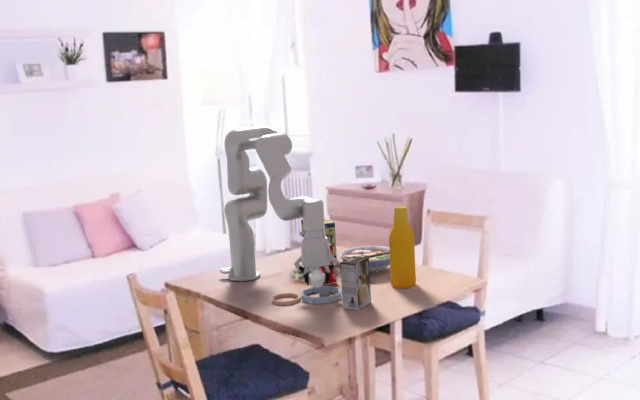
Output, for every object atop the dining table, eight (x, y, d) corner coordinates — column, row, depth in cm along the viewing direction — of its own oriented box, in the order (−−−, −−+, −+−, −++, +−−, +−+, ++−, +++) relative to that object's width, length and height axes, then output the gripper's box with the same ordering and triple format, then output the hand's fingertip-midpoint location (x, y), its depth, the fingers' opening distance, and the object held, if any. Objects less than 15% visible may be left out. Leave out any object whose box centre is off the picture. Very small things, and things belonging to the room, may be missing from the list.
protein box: (313, 262, 324) (311, 225, 321) (302, 254, 338) (300, 219, 335) (337, 259, 327) (335, 222, 324) (325, 251, 341) (323, 216, 339)
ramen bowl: (378, 259, 322) (377, 240, 320) (412, 271, 302) (412, 250, 301) (327, 270, 309) (326, 250, 308) (359, 283, 290) (358, 261, 288)
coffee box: (355, 300, 270) (353, 255, 267) (371, 302, 266) (369, 257, 263) (341, 308, 262) (339, 262, 259) (358, 310, 258) (356, 263, 256)
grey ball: (319, 301, 270) (319, 291, 269) (319, 298, 274) (318, 288, 273) (330, 301, 270) (329, 291, 270) (329, 298, 274) (328, 288, 273)
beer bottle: (404, 280, 291) (401, 203, 286) (421, 284, 283) (418, 206, 278) (385, 285, 286) (382, 207, 280) (402, 290, 278) (399, 210, 273)
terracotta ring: (271, 305, 269) (271, 302, 268) (271, 297, 278) (271, 294, 278) (300, 303, 269) (300, 300, 269) (299, 295, 279) (299, 292, 279)
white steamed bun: (325, 283, 280) (324, 264, 279) (326, 288, 274) (325, 268, 273) (308, 284, 280) (307, 265, 279) (309, 289, 274) (307, 270, 273)
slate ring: (302, 304, 268) (301, 298, 268) (301, 292, 282) (300, 287, 281) (342, 301, 269) (341, 296, 268) (339, 290, 282) (338, 284, 282)
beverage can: (335, 285, 289) (333, 246, 286) (317, 285, 290) (315, 246, 287) (337, 280, 294) (335, 242, 292) (321, 280, 296) (318, 242, 293)
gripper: (290, 238, 270) (293, 288, 273) (339, 234, 270) (342, 284, 274) (289, 233, 277) (292, 282, 280) (338, 230, 278) (340, 278, 281)
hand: (317, 282), depth 277 cm, fingers closed on white steamed bun, 6 cm apart
